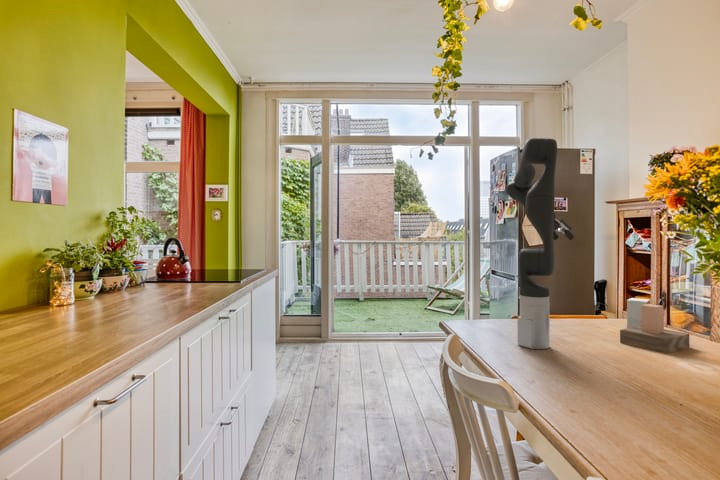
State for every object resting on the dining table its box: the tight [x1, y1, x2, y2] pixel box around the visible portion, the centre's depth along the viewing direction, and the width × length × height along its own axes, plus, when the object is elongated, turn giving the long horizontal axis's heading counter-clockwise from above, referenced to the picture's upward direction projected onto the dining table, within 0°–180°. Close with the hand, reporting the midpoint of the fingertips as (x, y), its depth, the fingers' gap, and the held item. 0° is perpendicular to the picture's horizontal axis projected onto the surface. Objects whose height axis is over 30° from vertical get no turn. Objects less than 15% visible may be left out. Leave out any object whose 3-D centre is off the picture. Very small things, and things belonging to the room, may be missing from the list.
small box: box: [626, 297, 651, 329], centre depth 140 cm, size 8×6×13 cm
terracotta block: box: [641, 303, 665, 334], centre depth 125 cm, size 4×4×9 cm
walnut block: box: [619, 326, 690, 355], centre depth 125 cm, size 14×14×5 cm
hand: (565, 238), depth 143 cm, fingers open, 8 cm apart
